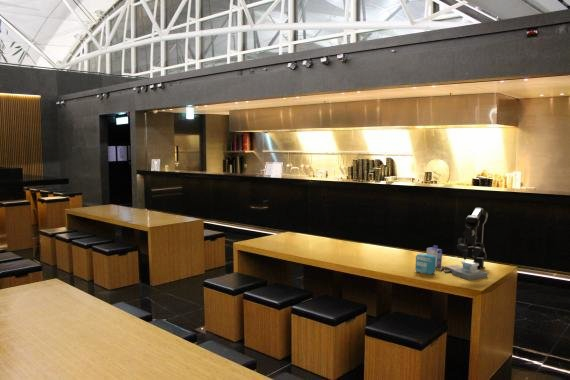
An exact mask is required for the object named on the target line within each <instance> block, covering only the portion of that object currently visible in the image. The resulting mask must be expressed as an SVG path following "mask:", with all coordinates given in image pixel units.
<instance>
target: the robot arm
mask: <svg viewBox="0 0 570 380" xmlns="http://www.w3.org/2000/svg"><path fill="white" fill-rule="evenodd" d="M488 216H489V213H488V211H486V210H485V209H484V208H482V207H475V208H474V210H473V212H472V214H471V215H470V214H469V215H467V217H466V218H465V220H464V226H463V227H464V228H465V229H464V230H463V232H462V235H463V237H464V238H462V237H458V238H457V243H458V244H457V245H456V249H457V250H459V251H460V252H461V254H462V257H463V261H467V256H468V252H469V250H468V249H470V248H472V250H471V259H473V262H476V263H479V266H477V270H479V269H486V267H485V266H484V264H485V263H484V262H485V261H486V260H487V253H486V250H485V244H484V243H483V242H484V229H485V227H484V225H485V224H486V222H487V220H488V218H489V217H488Z"/></svg>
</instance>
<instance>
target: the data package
mask: <svg viewBox="0 0 570 380" xmlns="http://www.w3.org/2000/svg"><path fill="white" fill-rule="evenodd" d="M435 260H436V258H435V256H433V255H427V253H418V254H416V255H415V269H414V270H415V271H416V272H417V273H419V274H420V273H421V274H427V275H433V274H434V273H436V267H435Z"/></svg>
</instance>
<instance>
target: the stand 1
mask: <svg viewBox="0 0 570 380" xmlns="http://www.w3.org/2000/svg"><path fill="white" fill-rule="evenodd" d="M444 267H445V269H444V270H445V271H446V270H450V269H453V270H454V269H461V268H463V265H459V264H453V265H445V266H444Z"/></svg>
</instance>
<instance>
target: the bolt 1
mask: <svg viewBox="0 0 570 380" xmlns="http://www.w3.org/2000/svg"><path fill="white" fill-rule="evenodd" d="M445 270H446V269H445V266H444V265H441V267H439V269H438V271H439V272H441V271H445Z"/></svg>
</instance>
